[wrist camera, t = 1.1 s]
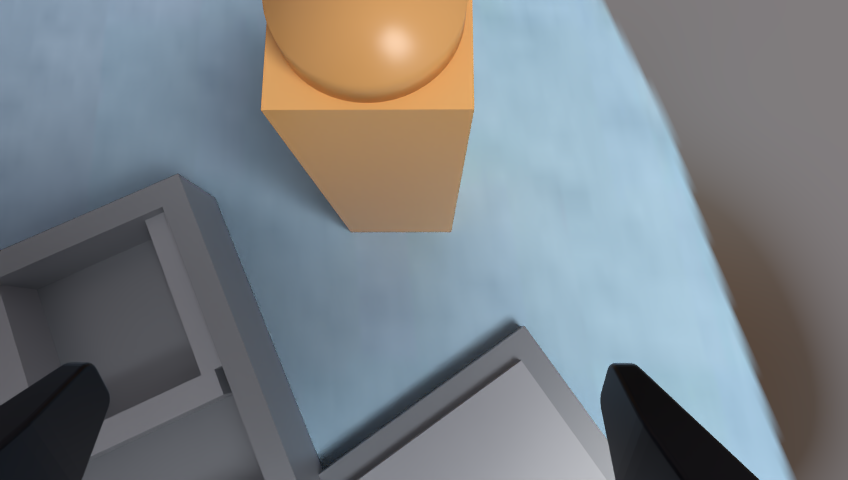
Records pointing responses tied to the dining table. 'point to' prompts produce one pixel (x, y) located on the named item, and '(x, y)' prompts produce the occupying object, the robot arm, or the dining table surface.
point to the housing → (156, 340)
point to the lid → (487, 427)
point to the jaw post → (374, 104)
